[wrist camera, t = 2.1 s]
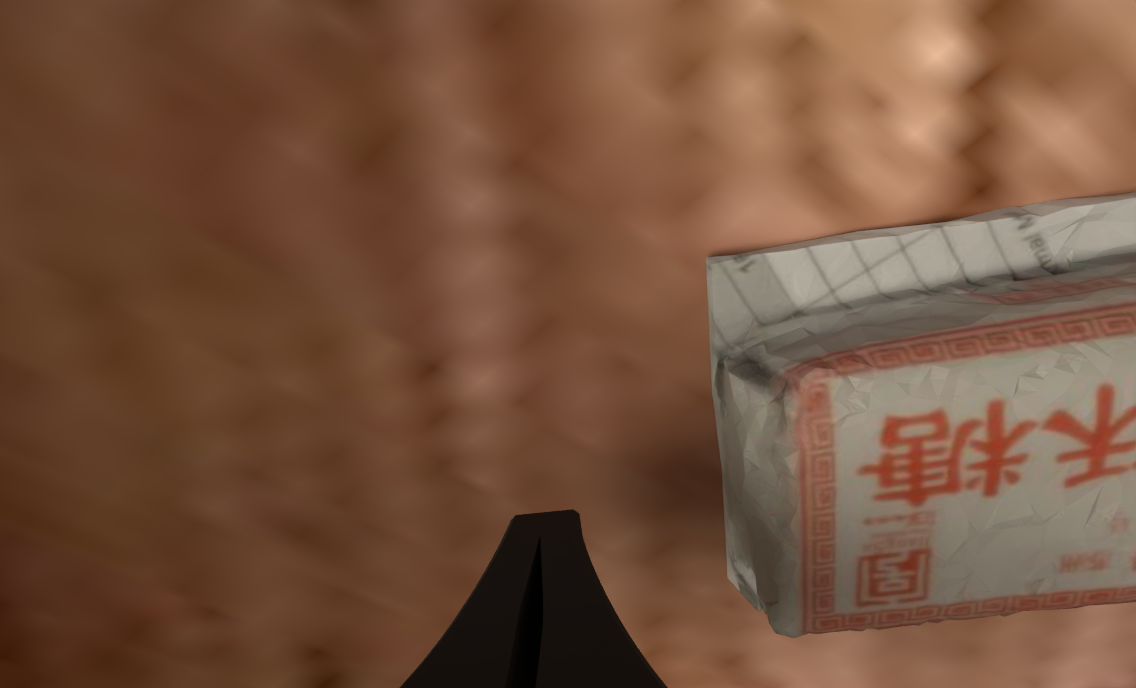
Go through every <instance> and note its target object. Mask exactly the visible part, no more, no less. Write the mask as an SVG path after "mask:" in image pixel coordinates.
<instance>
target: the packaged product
mask: <svg viewBox="0 0 1136 688" xmlns="http://www.w3.org/2000/svg"><path fill="white" fill-rule="evenodd" d="M706 271H707V293H708V315H709V337H710V359H711V381H712V397H713V404H714V412H715V420H716V428H717V436H718V443H719V451H720V459H721V467H722V479H723V502H724V521H725V540H726V559H727V578H728V579H729V580H730V581H731V583H732V584H733V585H734V586H735V587H736V588H737V589H738V590H739V591H740V593H741V594H742V595H743V596H744V597H745V598H746V599H747V600H748V601H749V602H750V603H751V604H752V605H753V606H754V607H755V608H756V609H757V610H760V609H762V608H763V609H764V611H765V613H766V614H767V616H768V620H769V623H770V625H771V626H772V628H773V629H774V631H775V632H776V633H778V634H781V635H785V636H788V637H792V638H795V637H799V636H802V635H805V634H808V633H812V634H821V633H828V632H838V631H849V630H852V631H863V630H865V629H878V630H880V629H886V628H893V627H899V626H908V625H921V624H923V623H925V622H931V623H939V622H941V621H943V620H963V619H973V618H981V617H989V616H997V615H1001V616H1008V615H1011V614H1014V613H1017V612H1021V611H1031V610H1053V609H1070V608H1078V607H1083V606H1088V605H1103V604H1117V603H1128V602H1136V192H1133V193H1127V194H1121V195H1109V196H1097V197H1085V198H1072V199H1060V200H1051V201H1045V202H1039V203H1033V204H1029V205H1026V206H1023V207H1016V206H1013V207H1007V208H1002V209H998V210H994V211H989V212H985V213H981V214H977V215H973V216H969V217H965V218H961V219H957V220H953V221H949V222H943V223H933V224H924V225H914V226H905V227H895V228H886V229H876V230H867V231H857V232H851V233H846V234H840V235H835V236H830V237H824V238H819V239H814V240H808V241H803V242H798V243H792V244H787V245H782V246H776V247H771V248H766V249H760V250H755V251H751V252H746V253H741V254H736V255H727V256H715V257H706Z"/></svg>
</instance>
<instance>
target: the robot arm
mask: <svg viewBox="0 0 1136 688" xmlns="http://www.w3.org/2000/svg"><path fill="white" fill-rule="evenodd" d="M400 688H667V686H666V685H665V684H664V683H663V681H662V680H661V679H660V678H659V676H658V675H657V674H656V673H655V671H654V670H653V669H652V667H651V666H650V665H649V663H648V662H647V660H646V659H645V658H644V656H643V655H642V653H641V652H640V650H639V649H638V648H637V646H636V645H635V643H634V641H633V640H632V638H631V637H630V635H629V634H628V632H627V631H626V629H625V627H624V626H623V624H622V622H621V621H620V619H619V617H618V615H617V614H616V612H615V610H614V608H613V606H612V604H611V603H610V601H609V599H608V597H607V595H606V593H605V591H604V589H603V587H602V585H601V583H600V581H599V578H598V576H597V574H596V572H595V569H594V567H593V565H592V563H591V560H590V557H589V555H588V552H587V549H586V546H585V543H584V540H583V536H582V529H581V522H580V515H579V513H578V512H576V511H575V510H563V511H553V512H543V513H533V514H523V515H515V516H514V518H513V519H512V520H511V521H510V524H509V526H508V528H507V530H506V532H505V534H504V537H503V539H502V541H501V543H500V545H499V546H498V548H497V550H496V552H495V554H494V556H493V558H492V560H491V561H490V563H489V565H488V567H487V568H486V570H485V572H484V574H483V575H482V577H481V579H480V580H479V582H478V584H477V586H476V587H475V589H474V591H473V592H472V594H471V595H470V597H469V598H468V600H467V601H466V603H465V604H464V606H463V607H462V609H461V610H460V612H459V613H458V615H457V616H456V618H455V619H454V621H453V622H452V624H451V625H450V627H449V628H448V629H447V631H446V632H445V633H444V635H443V636H442V637H441V639H440V640H439V641H438V643H437V644H436V645H435V647H434V648H433V649H432V650H431V652H430V653H429V654H428V655H427V657H426V658H425V659H424V660H423V662H422V663H421V664H420V665H419V666H418V667H417V669H416V670H415V671H414V672H413V673H412V674H411V675H410V677H409V678H408V679H407V680H406V681H405V682H404V683H403V685H402V686H401V687H400Z"/></svg>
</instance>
